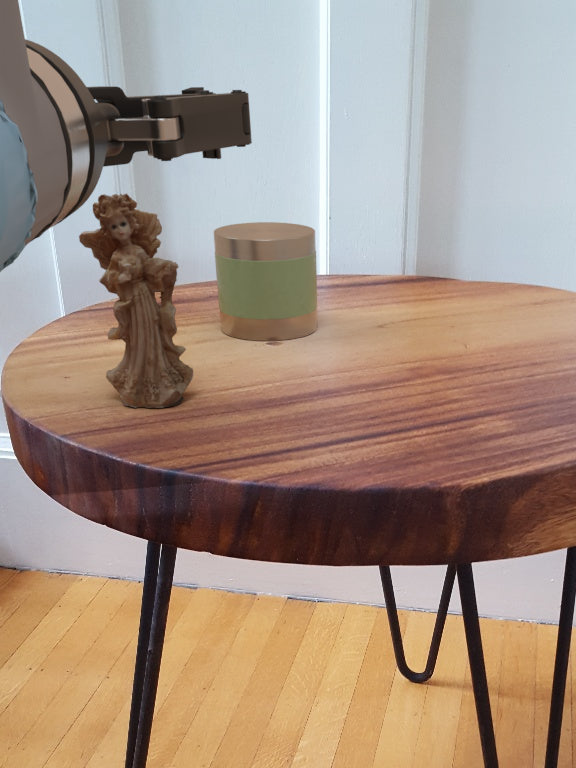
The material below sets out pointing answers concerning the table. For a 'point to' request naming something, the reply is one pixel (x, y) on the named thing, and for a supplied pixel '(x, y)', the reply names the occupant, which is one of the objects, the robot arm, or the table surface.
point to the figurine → (139, 303)
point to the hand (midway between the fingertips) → (88, 114)
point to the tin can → (266, 280)
